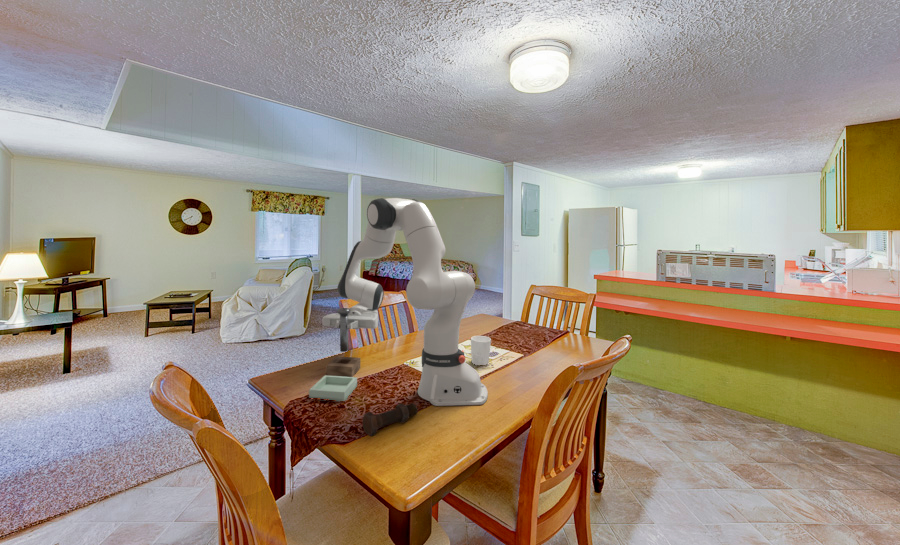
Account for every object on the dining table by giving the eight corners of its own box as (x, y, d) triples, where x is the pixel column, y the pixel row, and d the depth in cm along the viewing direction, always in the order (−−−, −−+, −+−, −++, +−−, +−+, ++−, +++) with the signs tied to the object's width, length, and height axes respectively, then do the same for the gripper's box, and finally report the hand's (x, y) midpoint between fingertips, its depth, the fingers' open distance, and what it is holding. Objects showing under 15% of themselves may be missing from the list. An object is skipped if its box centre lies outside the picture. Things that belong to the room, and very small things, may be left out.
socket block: (360, 368, 132) (360, 357, 132) (351, 377, 124) (351, 366, 123) (336, 366, 133) (336, 356, 133) (326, 376, 124) (326, 365, 124)
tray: (357, 386, 117) (357, 377, 117) (344, 401, 106) (344, 392, 106) (324, 383, 118) (324, 375, 118) (309, 399, 107) (309, 389, 107)
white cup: (490, 367, 137) (491, 341, 136) (470, 366, 137) (471, 341, 136) (488, 359, 145) (490, 335, 144) (469, 359, 145) (470, 335, 144)
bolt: (415, 422, 100) (368, 440, 90) (407, 407, 103) (359, 423, 93) (423, 409, 97) (374, 426, 87) (414, 394, 100) (366, 409, 90)
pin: (352, 348, 129) (352, 308, 128) (348, 352, 125) (347, 311, 123) (340, 348, 130) (340, 307, 128) (335, 352, 125) (335, 310, 124)
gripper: (330, 308, 140) (314, 316, 126) (381, 310, 138) (370, 318, 124) (330, 323, 140) (314, 333, 127) (381, 326, 139) (371, 336, 125)
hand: (343, 326), depth 125 cm, fingers closed on pin, 3 cm apart
